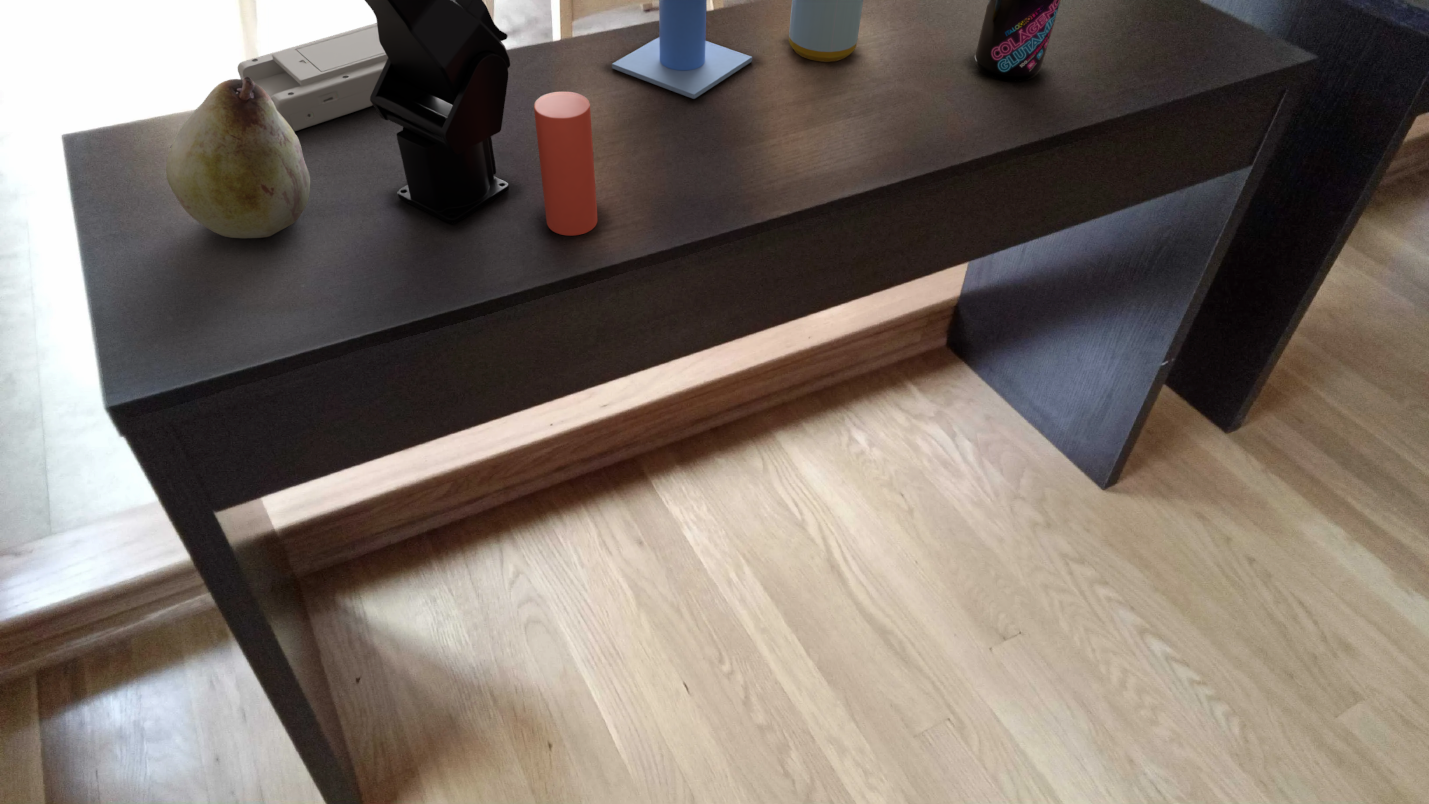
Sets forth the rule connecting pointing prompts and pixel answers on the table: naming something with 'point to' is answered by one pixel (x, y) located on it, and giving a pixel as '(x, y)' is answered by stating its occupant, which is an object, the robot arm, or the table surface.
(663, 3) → the blue peg
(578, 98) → the red peg
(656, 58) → the blue mat
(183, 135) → the fruit
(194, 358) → the table surface
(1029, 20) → the supplement container
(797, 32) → the bottle
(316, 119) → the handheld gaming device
